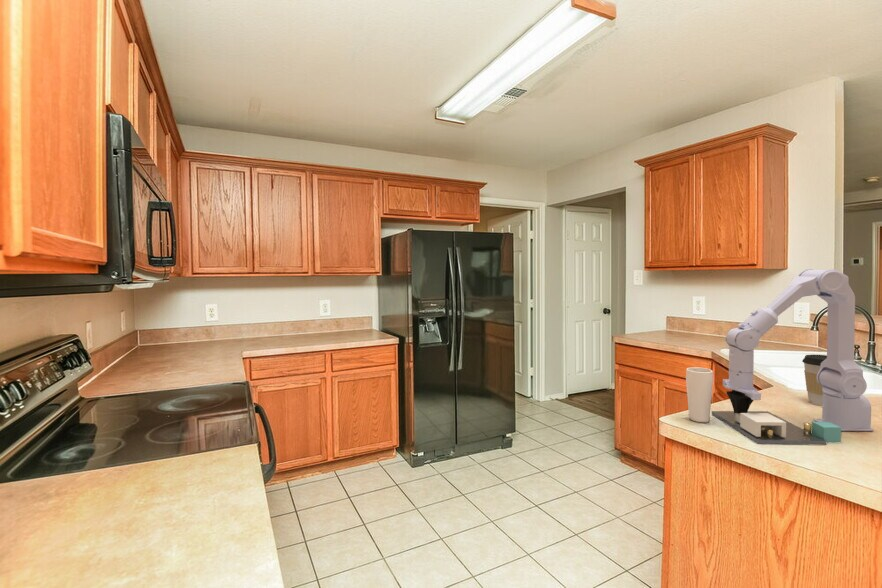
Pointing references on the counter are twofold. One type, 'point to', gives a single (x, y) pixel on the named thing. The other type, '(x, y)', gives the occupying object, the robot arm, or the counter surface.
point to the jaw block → (827, 431)
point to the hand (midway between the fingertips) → (740, 417)
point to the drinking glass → (699, 393)
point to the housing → (760, 423)
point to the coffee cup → (813, 378)
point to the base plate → (767, 435)
